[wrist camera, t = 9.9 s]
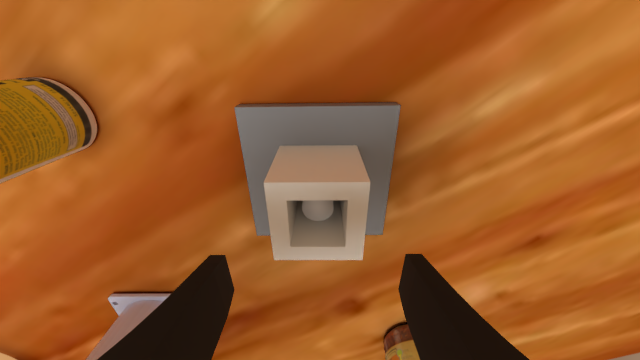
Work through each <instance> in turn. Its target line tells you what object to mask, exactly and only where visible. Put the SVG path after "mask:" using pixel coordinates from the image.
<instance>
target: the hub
mask: <svg viewBox="0 0 640 360" xmlns="http://www.w3.org/2000/svg"><path fill="white" fill-rule="evenodd" d="M264 190H265V197H266V205H267V212H268V220H269V227H270V234H271V242H272V249H273V257H274V260H363V250H364V240H365V231H366V221H367V211H368V202H369V192H370V179H369V177H368V174H367V171H366V169H365V166H364V163H363V161H362V158H361V155H360V153H359V150H358V147H357V145H321V146H280V147H279V149H278V151H277V153H276V156H275V158H274V160H273V162H272V165H271V167H270V169H269V171H268V174H267V176H266V178H265V180H264ZM303 200H333V207H334V209H333V213H332V215H331V216H330V217H329V218H327V219H326V220H323V221H313V220H310V219H308V218H307V217H306V216H305V215H304V213H303V211H302V204H303Z"/></svg>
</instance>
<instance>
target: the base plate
mask: <svg viewBox="0 0 640 360" xmlns="http://www.w3.org/2000/svg"><path fill="white" fill-rule="evenodd" d="M400 106H401V105H399V104H398V103H396V102H378V103H295V104H239V105H237V106H236V107H234V108H235V113H236V119H237V125H238V130H239V136H240V142H241V147H242V153H243V159H244V164H245V170H246V176H247V182H248V187H249V193H250V199H251V204H252V210H253V216H254V221H255V227H256V233H257V235H271V234H270V227H269V220H268V212H267V205H266V197H265V190H264V180H265V178H266V176H267V174H268V171H269V169H270V167H271V165H272V162H273V160H274V158H275V156H276V153H277V151H278V149H279V147H280V146H321V145H357V147H358V150H359V153H360V155H361V158H362V161H363V163H364V166H365V169H366V171H367V174H368V177H369V179H370V192H369V202H368V211H367V221H366V231H365V235H382V234H383V227H384V220H385V213H386V206H387V199H388V192H389V185H390V177H391V170H392V163H393V156H394V149H395V142H396V135H397V128H398V121H399V113H400ZM333 209H334V207H333V200H303V204H302V211H303V213H304V215H305V216H306V217H307V218H308V219H310V220H313V221H323V220H326V219H327V218H329V217H330V216H331V215H332V213H333Z"/></svg>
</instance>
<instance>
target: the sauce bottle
mask: <svg viewBox="0 0 640 360" xmlns="http://www.w3.org/2000/svg"><path fill="white" fill-rule="evenodd" d="M384 350H385V353H386V355H385V359H386V360H420V358H419V355H418V352H417V349H416V347H415V344H414V341H413V338H412V335H411V332H410V329H409V327H408V324H407V325H401V326H398V327H396V328H394V329H393V330H391V331H390V332H389V333H388V334H387V335H386V337H385V340H384Z"/></svg>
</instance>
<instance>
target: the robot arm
mask: <svg viewBox="0 0 640 360" xmlns="http://www.w3.org/2000/svg"><path fill="white" fill-rule="evenodd" d="M233 293H234V287H233V283H232V279H231V275H230V272H229V268H228V264H227V260H226V257H225V255H210V256H209V257H208V258H207V259H206V260H205V261H204V262H203V263H202V264H201V265H200V266H199V267H198V268H197V269H196V270H195V271H194V272H193V273H192V274H191V275H190V276H189V277H188V278H187V279H186V280H185V281H184V282H183V283H182V284H181V285H180V286H179V287H178V288H177V289H176V290H175V291H174V292H172V293H171V294H111V295H110V296H109V297H108V300H109V302H110V303H111V305H112V306H113V308H114V309H115V311H116V312H117V314H118V315H119V317H118V318H117V319H116V321H115V322H114V323H113V325H112V326H111V327H110V329H109V330H108V331H107V333H106V334H105V335H104V336H103V338H102V339H101V340H100V342H99V343H98V344H97V346H96V347H95V348H94V350H93V351H92V352H91V353H90V355H89V356H88V357H87V359H86V360H211V359H212V356H213V353H214V351H215V348H216V346H217V343H218V340H219V338H220V335H221V332H222V330H223V327H224V324H225V322H226V319H227V316H228V313H229V309H230V305H231V301H232V297H233ZM399 293H400V298H401V302H402V306H403V310H404V314H405V318H406V321H407V324H408V327H409V329H410V332H411V335H412V338H413V341H414V344H415V347H416V349H417V352H418V355H419V358H420V360H529V359H528V358H527V357H526V356H524V355H523V354H522V353H521V352H520V351H519V350H517V349H516V348H515V347H514V346H513V345H511V344H510V343H509V342H508V341H507V340H506V339H505V338H504V337H503V336H501V335H500V334H499V333H498V332H497V331H496V330H495V329H494V328H493V327H492V326H491V325H490V324H489V323H487V322H486V321H485V320H484V319H483V318H482V317H481V316H480V315H479V314H478V313H477V312H476V311H475V310H474V309H473V308H472V307H471V306H470V305H469V304H468V303H467V302H466V301H465V300H464V299H463V298H462V297H461V296H460V295H459V294H458V293H457V292H456V291H455V290H454V289H453V288H452V287H451V285H450V284H449V283H448V282H447V281H446V280H445V279H444V278H443V277H442V276H441V275H440V274H439V273H438V271H437V270H436V269H435V268H434V267H433V266H432V265H431V264H430V263H429V262H428V261H427V260H426V258H425V257H424V256H423V255H422V254H406V255H405V260H404V265H403V270H402V275H401V279H400V284H399Z"/></svg>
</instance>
